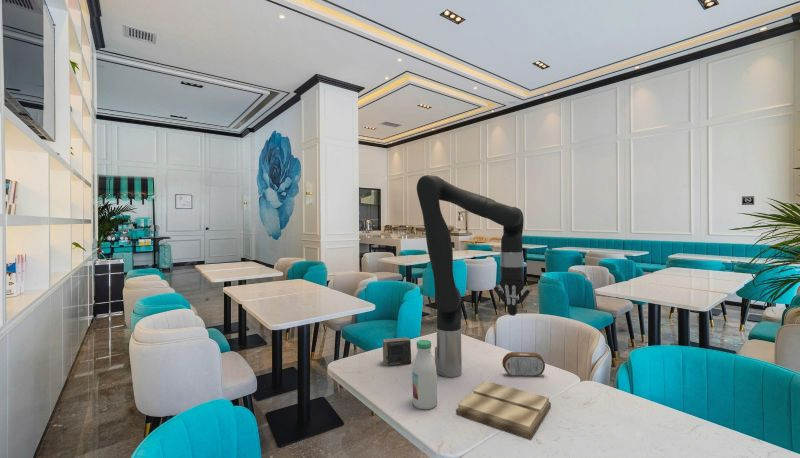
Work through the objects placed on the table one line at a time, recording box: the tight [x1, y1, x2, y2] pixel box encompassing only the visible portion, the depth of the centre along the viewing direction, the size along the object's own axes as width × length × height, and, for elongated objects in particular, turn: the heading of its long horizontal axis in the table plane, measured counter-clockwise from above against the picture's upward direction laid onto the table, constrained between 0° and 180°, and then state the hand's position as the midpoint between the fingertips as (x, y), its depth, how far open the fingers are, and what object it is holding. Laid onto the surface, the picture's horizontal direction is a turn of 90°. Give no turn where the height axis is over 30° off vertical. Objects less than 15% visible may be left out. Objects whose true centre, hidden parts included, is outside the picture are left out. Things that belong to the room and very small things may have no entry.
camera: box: [382, 337, 412, 366], centre depth 148 cm, size 11×6×10 cm, turn 98°
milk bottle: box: [411, 339, 438, 410], centre depth 115 cm, size 8×8×20 cm
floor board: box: [455, 392, 552, 440], centre depth 110 cm, size 22×20×3 cm
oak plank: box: [472, 380, 550, 415], centre depth 115 cm, size 21×9×2 cm, turn 53°
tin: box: [501, 351, 546, 378], centre depth 134 cm, size 15×3×8 cm, turn 84°
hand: (512, 315), depth 125 cm, fingers closed
